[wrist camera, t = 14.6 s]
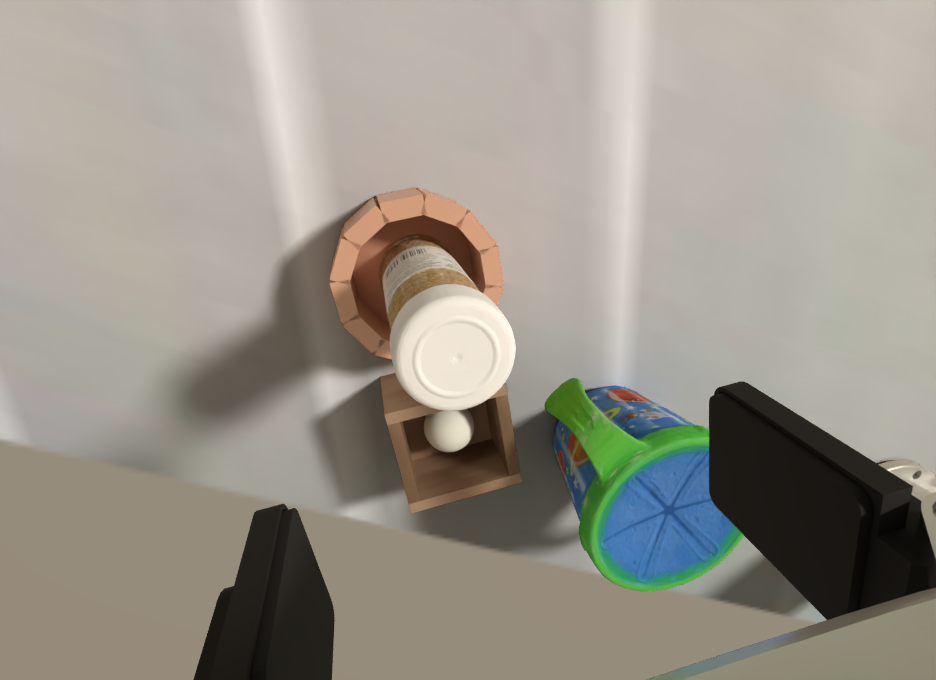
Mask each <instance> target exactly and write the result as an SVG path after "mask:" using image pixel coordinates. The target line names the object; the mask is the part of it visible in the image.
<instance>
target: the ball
mask: <svg viewBox="0 0 936 680" xmlns="http://www.w3.org/2000/svg"><path fill="white" fill-rule="evenodd" d="M424 433H425V436H426V438H427V440H428V442H429V443H430V444H431V445H432V446H433V447H434V448H436V449H438V450H440V451H443V452H455V451H458V450H460V449H462V448H464V447H465V446H466V445H467V444H468V443H469V441H470V440H471V438H472V436H473V433H474V421H473V417H472V415H471V413H470V412H469V410H468V409H464V410H458V411H441V412H437V413H433V414H429V415H426V418H425V421H424Z"/></svg>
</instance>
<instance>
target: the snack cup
mask: <svg viewBox="0 0 936 680" xmlns="http://www.w3.org/2000/svg"><path fill="white" fill-rule="evenodd" d="M545 410H546V411H547V412H549V413H550V414H552V415H553V416H555V417H556V418H557V419H559V422H558V423H557V426H556V429H555V435H554V441H553V446H554V451H555V455H556V458H557V462H558V465H559V467H560V469H561V471H562V474H563V476H564V479H565V482H566V485H567V488H568V491H569V494H570V496H571V499H572V502H573V504H574V507H575V510H576V512H577V515H578V518H579V520H580V526H579V534H580V540H581V544H582V546H583V548H584V550H586V551H587V553H588V555H589V556H590V558H591V560H592V561H593V563H594V564H595V566H596V567H597V569H598V570H599V571H600V573H601V574H602V575H603V576H604V577H605V578H607V579H608V580H610V581H611V582H613V583H615V584H617V585H619V586H621V587H624V588H627V589H631V590H636V591H657V590H665V589H669V588H673V587H676V586H679V585H683V584H685V583H687V582H689V581H691V580H694V579H696V578H698V577H700V576H701V575H703V574H705V573H706V572H708V571H709V570H711V569H712V568H714V567H715V566H716V565H718V564H719V563H720V562H721V561H722V560H723V559H724V558H725V557H726V556H727V555H728V554H729V553H731V551H732V550H733V549H734V548H735V547H736V546H737V545H738V543H739V542H740V541H741V539H742V538H743V537H744V535H743V534H742V533H741V532H740V531H739V530H738V529H737V528H736V527H735V526H734V524H733V523H732V522H731V521H730V520H729V519H728V518H727V517H726V516H725V515H724V514H723V513H722V512H721V511H720V510H719V509H718V508H717V507H716V506H715V505H714V503H713V501H712V499H711V497H710V494H709V428H707V427H703V426H698V425H696V426H695V425H694V424H692V423H691V422H689V421H687V420H685V419H684V418H682V417H680V416H678V415H676V414H675V413H673V412H671V411H669V410H668V409H666V408H663V407H662V406H660V405H658V404H657V403H655V402H652V401H651V400H649V399H647V398H645V397H643V396H642V395H640V394H639V393H637V392H635V391H633V390H630V389H627V388H625V387H620V386H611V387H603V388H598V389H595V390H592V391H590V392H587V393H585V390H584V386H583V384H582V382H581V381H580V380H579V379H577V378H572V379H570V380H568V381H566V382H565V383H563V384H561V385H560V386H559V388H558V389H556V390H555V391H554V392H553V393H552V394H551V395H550V396H549V398H548V399H547V401H546V402H545Z"/></svg>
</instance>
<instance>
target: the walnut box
mask: <svg viewBox="0 0 936 680" xmlns="http://www.w3.org/2000/svg"><path fill="white" fill-rule="evenodd" d="M380 380H381V389H382V398H383V407H384V415H385V419H386V422H387V426H388V430H389V433H390V437H391V441H392V444H393V448H394V452H395V455H396V459H397V463H398V466H399V470H400V474H401V477H402V481H403V484H404V488H405V492H406V495H407V499H408V503H409V506H410V510H411V513H414V512H418V511H422V510H425V509H429V508H432V507H436V506H439V505H443V504H447V503H450V502H454V501H457V500H461V499H465V498H468V497H472V496H475V495H479V494H482V493H486V492H490V491H493V490H497V489H500V488H504V487H507V486H511V485H515V484H518V483H522V481H521V475H520V468H519V462H518V456H517V450H516V444H515V438H514V432H513V426H512V420H511V414H510V408H509V402H508V396H507V390H506V384H505V383H504V384H503V385H502V387H501V388H500V389H499V390H498V391H497V392H496V393H495V394H494V395H493V396H491V397H490V398H489V399H487V400H486V401H484V402H483V403H481V404H478V405H476V406H474V407H471V408H468V410H469V412H470V413H471V415H472V417H473V421H474V433H473V436H472V438H471V440H470V441H469V443H468V444H467V445H466V446H465V447H464V448H462V449H460V450H458V451H455V452H443V451H440V450H438V449H436V448H434V447H433V446H432V445H431V444H430V443H429V442H428V440H427V438H426V436H425V433H424V421H425V418H426V415H429V414H433V413H437V412H441V411H443V410H437V409H433V408H430V407H427V406H425V405H423V404H421V403H420V402H417V401H416V400H415V399H413V398H412V397H411V396H410V395H409V394H408V393H407V392H406V391H405V390H404V388H403V387H402V386H401V384H400V382H399V380H398V378H397V376H396V373H394V374H390V375H386V376H382V377H380Z"/></svg>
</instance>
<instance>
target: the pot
mask: <svg viewBox="0 0 936 680" xmlns="http://www.w3.org/2000/svg"><path fill="white" fill-rule="evenodd" d="M376 197H377V198H375V199H374V198H373V197H372V198H371V199H370V200H369V201H368V202H367V203H366V204H365V205H364V206H363V207H361V208H360V209H359V210H358V211H357V212H356V213H355V214H354V215H353V216H352V217H351V218H350V219H348V220H347V221H346V222H345V223H344V227H342V230H341V234H340V237H339V241H338V244H337V248H336V252H335V255H334V259H333V262H332V268H331V274H330V287H331V290H332V294H333V297H334V301H335V304H336V308H337V311H338V315H339V318H340V322H341V323H343V327H344V328H345V329H346V330H347V331H349V332H350V333H351V334H352V335H353V336H354V337H355V338H356V339H357V340H358V341H359V342H360V343H361V344H362V345H363V346H365V347H366V348H367V349H368V350H369V351H370V352H371V353H373V352H374V351H375V355H376V356H380V357H384V358H388V359H392V357H391V352H390V334H391V328H390V325H389V321H388V317H387V311H386V305H385V296H384V291H383V289H382V286H381V283H380V281H379V265H380V262H381V260H382V257H383V255H384V253H385V251H386V250H387V249H388V248H389V247H390V246H391V244H393V243H394V242H395V241H397V240H399V239H401V238H403V237H407V236H409V235H416V234H418V235H426V236H430V237H432V238H434V239H436V240H438V241H440V242H441V243H443V244H444V246H445V247H446V248H447V249H448V250H449V252H450V253H451V255H452V257H453V258H454V259H455V260H456V261H457V263H458V264H459V265H460V266H461V268H462V269H463V270H464V272H465V273H466V274H467V275H468V277H469V278H470V279H471V280H472V281H473V283H474V284H475V285H476V287H477V288H478V290H479V291H480V292H481V293H483V294H485V295H486V296H487V297H488V298H489V299H490V300H492V301H493V302H494V304H495V305H496V306H497V305H498V302H499V300H500V297H501V294H502V292H503V288H502V287H501V286H503V285H504V282H503V276H502V269H501V263H500V256H499V250H498V246H497V245H496V242H495V240H494V239H493V238H492V237H491V236H490V234H489V233H488V232H487V231H486V230H485V228H484V227H483V226H482V225H481V223H480V222H479V221H478V220H477V219H476V217H475V216H474V215H473V214H472V213H471V211H469V210H468V209H467V208H465V207H463V206H462V205H460V204H458V203H457V202H455V201H454V200H451V199H448V198H445V197H442V196H440V195H437V194H434V193H431V192H428V191H425V190H423V189H420V188H418V189H415V188H409V189H404V190H399V191H395V192H390V193H385V194H380V195H376Z"/></svg>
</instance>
